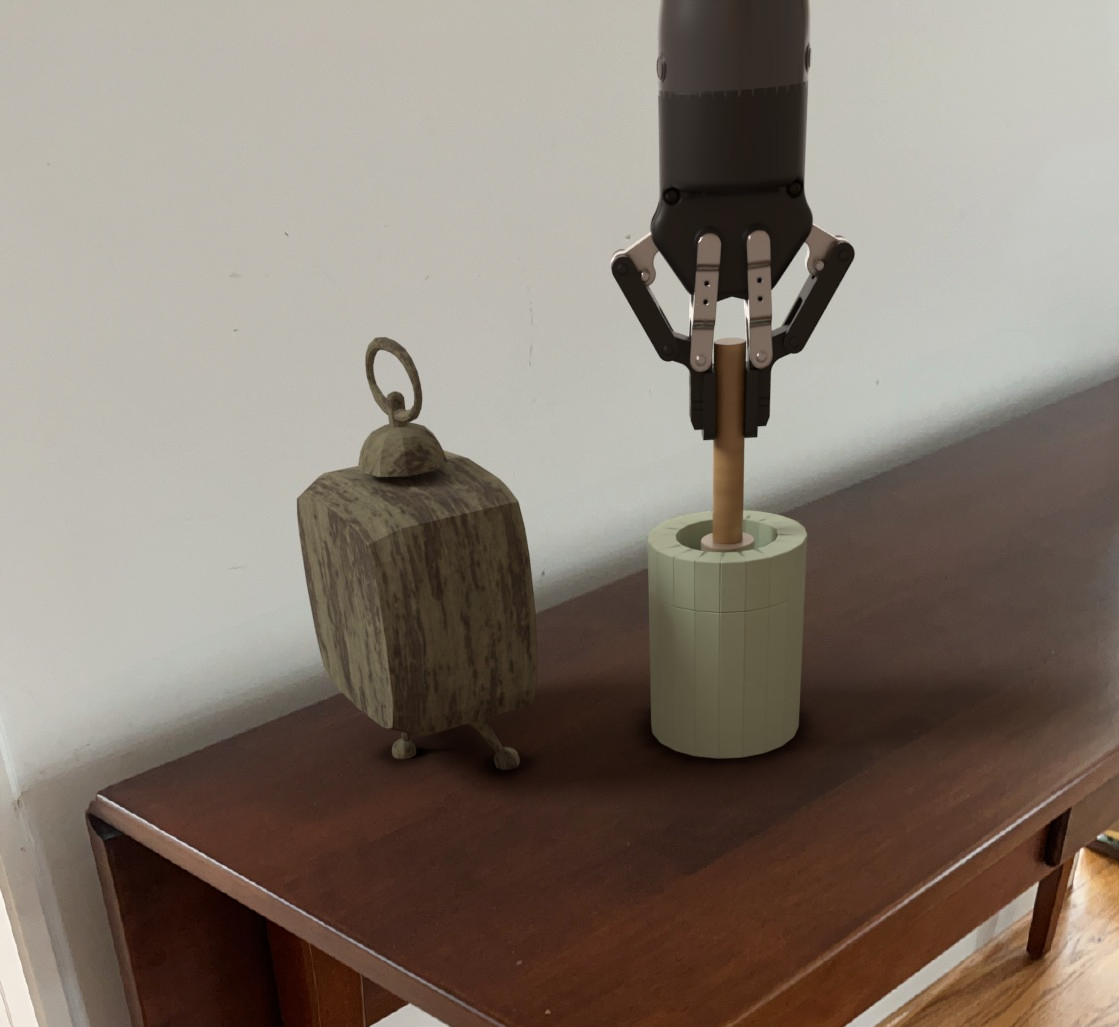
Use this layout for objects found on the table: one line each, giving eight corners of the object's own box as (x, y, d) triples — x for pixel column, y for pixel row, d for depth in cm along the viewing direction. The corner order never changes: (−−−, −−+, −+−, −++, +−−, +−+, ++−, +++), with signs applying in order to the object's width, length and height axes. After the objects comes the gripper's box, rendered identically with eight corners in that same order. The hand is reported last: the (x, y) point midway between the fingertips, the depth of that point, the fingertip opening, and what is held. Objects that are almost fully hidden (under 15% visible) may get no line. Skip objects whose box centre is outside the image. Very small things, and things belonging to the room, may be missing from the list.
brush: (749, 623, 90) (756, 333, 80) (754, 643, 87) (762, 345, 77) (699, 626, 90) (699, 336, 80) (702, 646, 87) (702, 349, 77)
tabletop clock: (547, 776, 89) (517, 347, 74) (416, 818, 86) (357, 377, 71) (446, 698, 99) (402, 308, 85) (326, 732, 96) (258, 332, 81)
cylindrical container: (788, 699, 96) (796, 505, 88) (806, 763, 89) (816, 557, 81) (649, 706, 97) (645, 513, 89) (654, 770, 89) (651, 565, 81)
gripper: (859, 62, 74) (839, 411, 84) (595, 80, 75) (607, 425, 85) (884, 72, 68) (859, 447, 78) (596, 91, 69) (609, 461, 79)
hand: (728, 434), depth 81 cm, fingers closed on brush, 2 cm apart
